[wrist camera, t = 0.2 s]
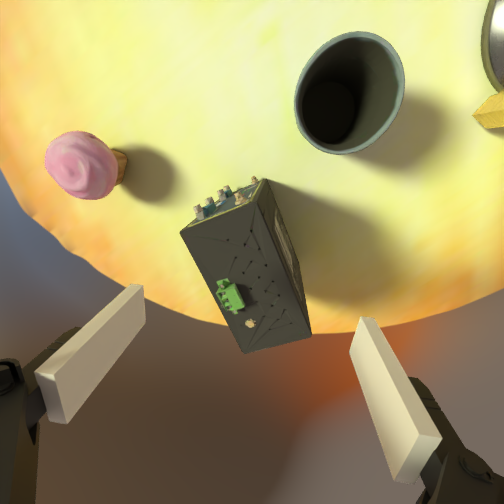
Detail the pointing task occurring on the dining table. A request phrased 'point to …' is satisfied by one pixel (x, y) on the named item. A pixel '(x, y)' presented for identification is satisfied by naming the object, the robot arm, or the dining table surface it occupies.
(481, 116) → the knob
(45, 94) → the dining table surface
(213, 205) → the router
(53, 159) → the cupcake
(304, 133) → the grey cup
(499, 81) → the levelling plate
